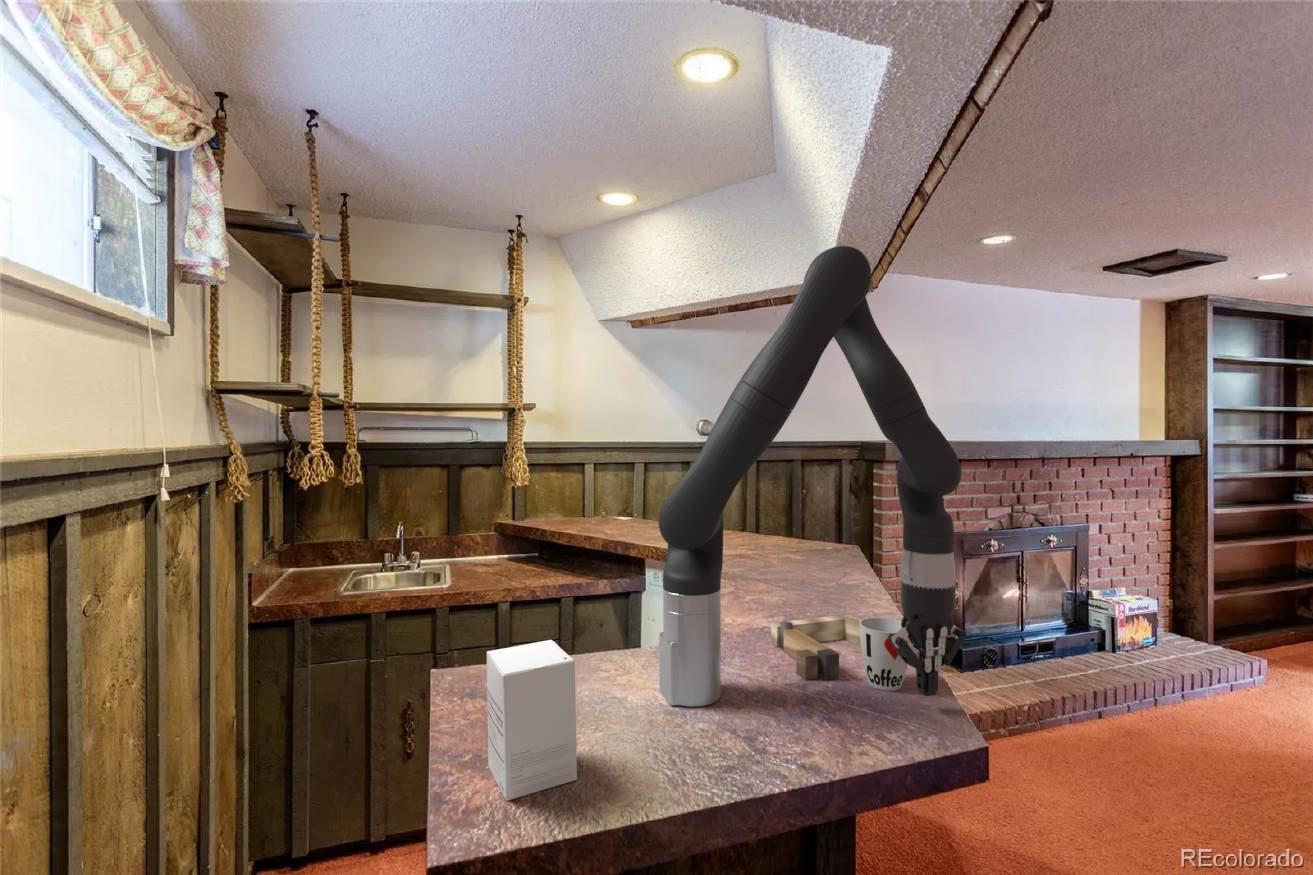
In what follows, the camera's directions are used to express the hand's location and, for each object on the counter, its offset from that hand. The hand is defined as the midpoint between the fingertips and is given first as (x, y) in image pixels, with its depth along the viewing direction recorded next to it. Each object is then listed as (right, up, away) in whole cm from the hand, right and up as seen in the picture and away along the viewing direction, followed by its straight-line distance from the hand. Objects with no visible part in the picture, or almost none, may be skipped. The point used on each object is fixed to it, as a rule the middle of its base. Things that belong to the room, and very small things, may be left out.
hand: (927, 693), depth 94 cm
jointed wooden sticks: (-9, -2, +23) cm, 25 cm away
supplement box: (-57, -3, -16) cm, 59 cm away
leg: (-14, -2, +19) cm, 24 cm away
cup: (-3, -3, +10) cm, 10 cm away
